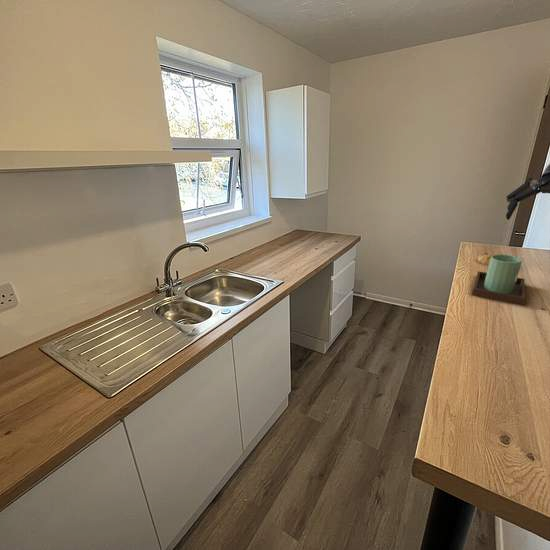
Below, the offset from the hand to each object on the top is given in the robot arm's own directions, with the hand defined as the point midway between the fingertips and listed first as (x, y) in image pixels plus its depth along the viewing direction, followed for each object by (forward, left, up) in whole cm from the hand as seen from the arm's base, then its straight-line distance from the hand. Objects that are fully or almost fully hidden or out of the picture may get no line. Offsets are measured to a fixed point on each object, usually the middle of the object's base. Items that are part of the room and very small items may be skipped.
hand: (531, 220), depth 100 cm
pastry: (0, -18, -23) cm, 29 cm away
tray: (+9, +9, -22) cm, 26 cm away
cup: (+9, +9, -22) cm, 25 cm away
